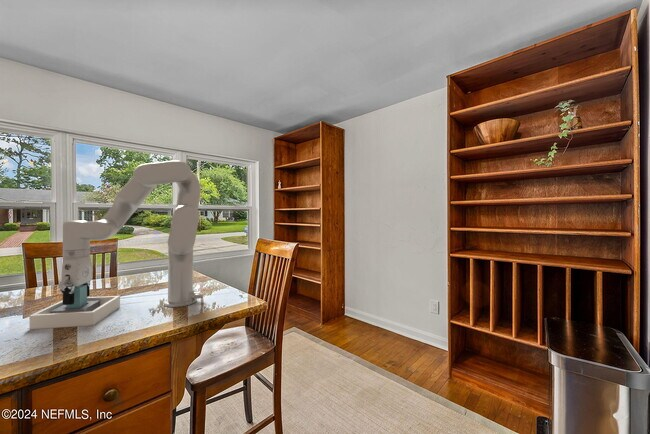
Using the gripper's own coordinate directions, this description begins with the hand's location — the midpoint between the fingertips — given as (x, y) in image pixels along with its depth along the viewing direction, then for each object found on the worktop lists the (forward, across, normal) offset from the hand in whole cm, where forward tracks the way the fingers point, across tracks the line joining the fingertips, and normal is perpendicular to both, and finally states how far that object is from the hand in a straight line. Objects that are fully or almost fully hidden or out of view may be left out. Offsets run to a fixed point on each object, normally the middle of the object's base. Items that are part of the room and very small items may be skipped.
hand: (76, 300), depth 101 cm
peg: (+5, 0, 0) cm, 5 cm away
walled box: (+6, -2, -2) cm, 6 cm away
